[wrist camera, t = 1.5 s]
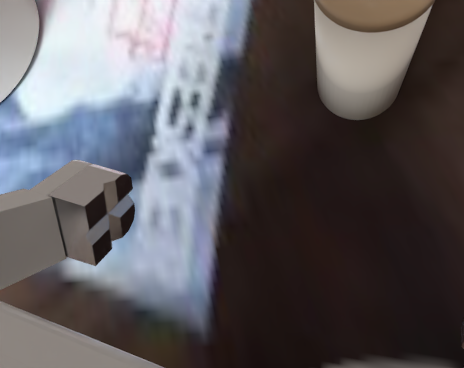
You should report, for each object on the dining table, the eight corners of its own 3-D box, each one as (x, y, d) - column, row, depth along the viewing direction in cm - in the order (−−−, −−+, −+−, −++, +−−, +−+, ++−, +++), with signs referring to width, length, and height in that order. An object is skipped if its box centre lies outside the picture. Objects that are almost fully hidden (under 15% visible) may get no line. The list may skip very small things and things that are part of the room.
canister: (306, 112, 28) (295, 8, 17) (327, 39, 28) (328, -102, 18) (390, 129, 26) (435, 27, 16) (410, 52, 27) (464, -94, 16)
